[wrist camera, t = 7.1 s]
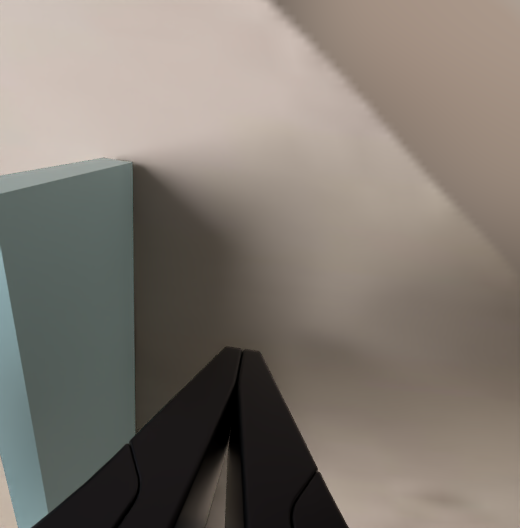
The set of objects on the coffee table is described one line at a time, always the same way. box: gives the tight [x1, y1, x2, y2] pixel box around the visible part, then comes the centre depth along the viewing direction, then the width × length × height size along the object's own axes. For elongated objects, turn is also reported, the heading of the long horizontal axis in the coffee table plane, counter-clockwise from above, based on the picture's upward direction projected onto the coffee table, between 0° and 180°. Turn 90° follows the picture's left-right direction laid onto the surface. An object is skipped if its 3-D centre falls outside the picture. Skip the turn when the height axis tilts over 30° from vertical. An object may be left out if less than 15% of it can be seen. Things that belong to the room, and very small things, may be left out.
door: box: [0, 158, 135, 528], centre depth 10 cm, size 16×2×5 cm, turn 172°
